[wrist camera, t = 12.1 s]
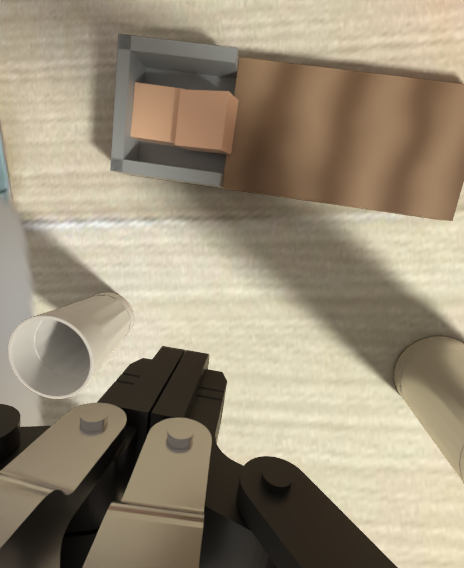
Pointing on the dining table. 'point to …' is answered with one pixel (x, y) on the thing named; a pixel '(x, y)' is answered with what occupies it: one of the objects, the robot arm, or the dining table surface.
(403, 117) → the board
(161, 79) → the tray
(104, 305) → the cup
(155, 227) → the dining table surface
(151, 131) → the tile
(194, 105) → the tile
